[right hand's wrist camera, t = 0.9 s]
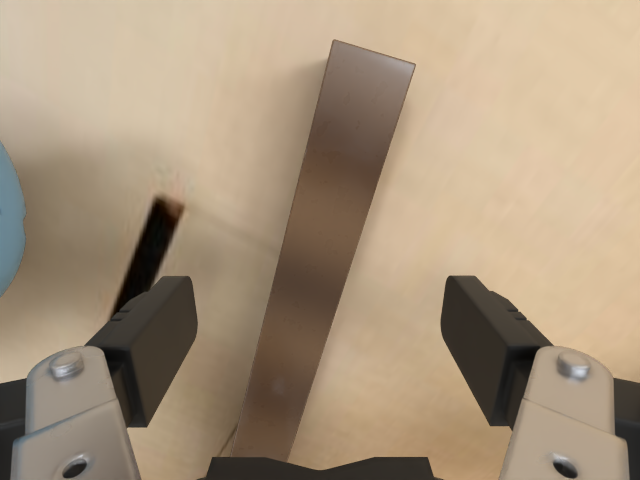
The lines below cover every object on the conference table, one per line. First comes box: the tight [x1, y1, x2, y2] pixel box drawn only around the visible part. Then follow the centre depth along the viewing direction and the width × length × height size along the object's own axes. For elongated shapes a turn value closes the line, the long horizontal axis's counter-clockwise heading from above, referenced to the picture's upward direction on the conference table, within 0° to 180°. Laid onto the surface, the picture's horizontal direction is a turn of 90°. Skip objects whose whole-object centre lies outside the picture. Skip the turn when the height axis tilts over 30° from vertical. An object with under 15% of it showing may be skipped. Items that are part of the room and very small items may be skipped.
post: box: [230, 40, 416, 463], centre depth 34 cm, size 69×5×7 cm, turn 165°
